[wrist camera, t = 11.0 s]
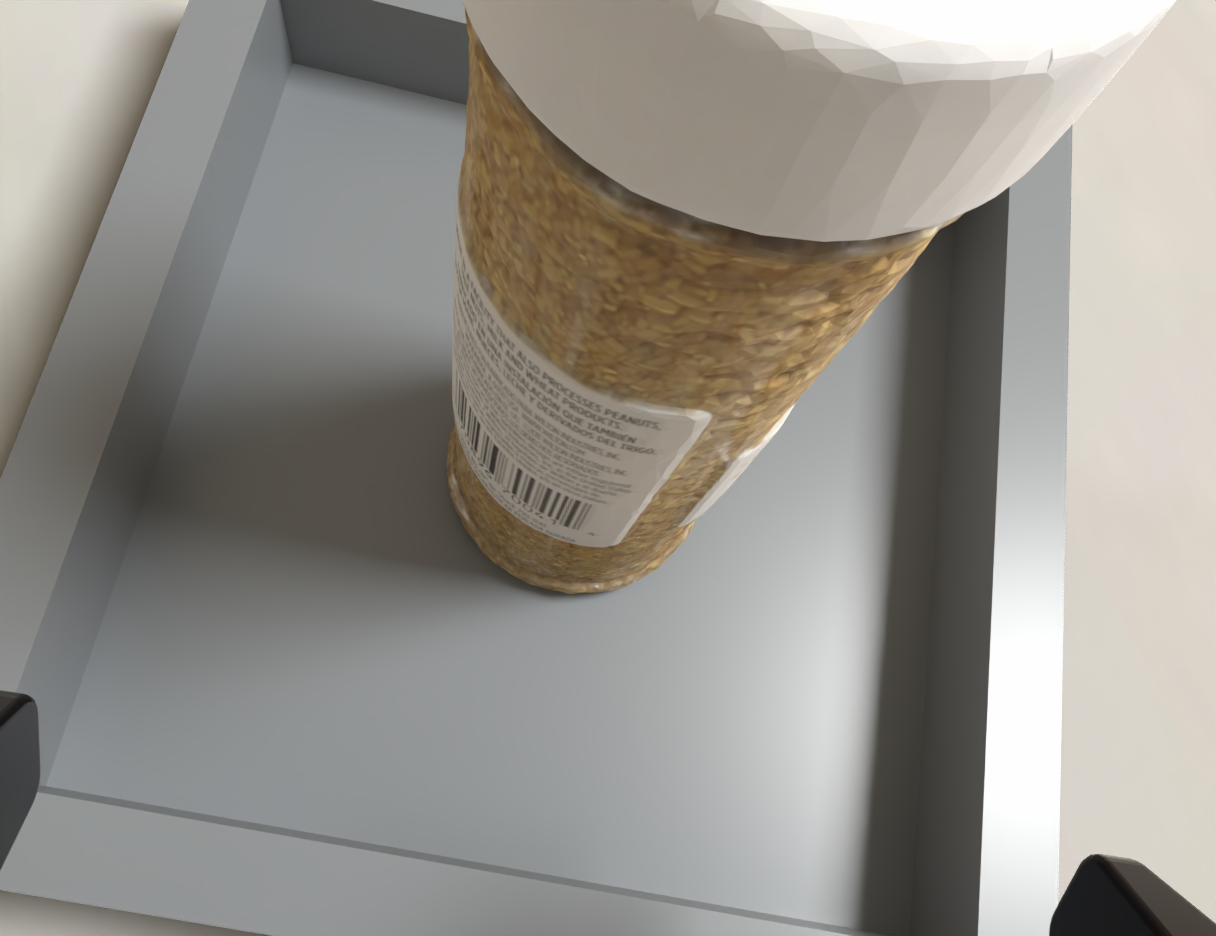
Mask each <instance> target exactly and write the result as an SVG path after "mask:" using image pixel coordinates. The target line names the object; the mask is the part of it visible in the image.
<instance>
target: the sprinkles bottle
mask: <svg viewBox="0 0 1216 936" xmlns="http://www.w3.org/2000/svg"><path fill="white" fill-rule="evenodd" d="M1176 1H1177V0H463V2H464V5H465V15H466V23H467V30H468V35H469V38H470V41H469V94H468V100H467V106H466V118H467V125H466V136H465V151H464V154H463V158H462V162H461V166H460V171H459V179H458V186H457V203H456V236H455V267H454V302H453V345H452V402H453V411H454V419H455V426H454V428H453V430H452V432H451V435H450V439H449V445H448V454H447V464H446V467H447V477H448V485H449V490H450V495H451V499H452V503H453V505H454V508H455V510H456V512H457V513H458V515H459V516H460V518H461V520H462V523H463V526H464V528H465V530H466V531H467V533H468V534H469V535H470V536H471V537H472V538H473V539H474V540H475V542H476V543H477V545H478V546H479V548H480V550H481V551H482V552H483V554H484V555H486V556H487V557H488V558H489V559H490V560H491V561H492V562H494V563H495V564H496V565H498V566H500V567H501V568H503V569H505V570H506V571H507V572H509V573H510V574H511V575H513V576H514V577H516V578H518V579H520V580H523V581H524V582H526V583H528V584H530V585H534V586H539V587H542V588H545V589H549V590H555V591H562V592H564V593H567V594H576V593H585V592H589V593H596V592H605V591H613V590H617V589H620V588H623V587H625V586H628V585H630V584H632V583H634V582H636V581H637V580H639V579H641V578H642V577H644V576H646V575H648V574H649V573H651V572H653V571H655V570H656V569H657V568H659V567H660V566H661V565H662V564H663V563H664V562H665V561H666V559H667V558H668V557H669V556H670V555H672V554H673V553H674V551H675V550H676V549H677V548H678V547H679V545H680V544H681V543H683V542H684V541H685V539H686V538H687V536H688V535H689V533H690V532H691V530H692V527H693V525H694V523H695V521H696V519H697V518H698V517H699V516H701V515H702V514H703V513H705V512H706V511H707V510H708V509H709V508H710V507H711V506H712V505H713V504H714V503H715V502H716V501H717V500H718V499H719V498H720V497H721V496H722V495H723V494H724V493H725V491H726V490H727V489H728V488H729V487H730V486H731V485H732V484H733V483H734V481H735V480H736V479H737V478H738V477H739V476H740V475H741V474H742V472H743V471H744V470H745V469H746V468H747V467H748V465H749V464H750V463H751V462H752V461H753V459H754V458H755V457H756V456H757V455H758V454H759V452H760V451H761V450H762V449H763V448H764V447H765V446H766V445H767V443H768V442H769V441H770V440H771V439H772V438H773V436H774V435H775V434H776V433H777V432H778V430H779V429H780V428H781V426H782V425H783V423H784V421H785V420H786V418H787V417H788V415H789V413H790V412H791V410H792V409H793V407H794V405H795V403H796V402H797V400H798V399H799V398H800V396H801V395H802V393H803V392H805V391H806V390H807V389H808V388H809V387H810V386H811V384H812V383H813V382H814V381H815V379H816V378H817V377H818V376H819V375H820V374H821V373H822V372H823V371H824V370H825V369H826V367H827V366H828V365H829V363H830V362H831V361H832V360H833V358H834V357H835V355H836V354H837V353H838V352H839V351H840V350H841V349H842V348H843V347H844V345H845V344H846V343H847V342H848V341H849V340H850V338H851V337H852V336H853V335H854V334H855V333H856V332H857V331H858V330H859V328H860V327H861V326H862V325H863V324H864V323H865V321H866V320H867V319H868V317H869V316H870V315H871V313H872V312H873V311H874V309H875V308H876V307H877V305H878V304H879V303H880V301H881V300H883V299H884V298H885V297H886V296H887V295H888V294H889V293H890V292H891V291H892V289H893V288H894V287H895V286H896V284H897V283H898V281H899V280H900V279H901V278H902V277H903V276H904V275H905V273H906V272H907V271H908V270H909V269H910V268H911V266H912V265H913V264H914V263H915V261H916V259H917V258H918V256H919V255H920V254H921V253H922V252H923V251H924V250H925V248H926V247H927V245H928V244H929V242H930V241H931V239H932V238H933V237H934V236H935V234H936V233H937V232H938V231H939V230H940V229H942V228H944V227H945V226H947V225H949V224H951V223H953V222H955V221H956V220H957V219H958V218H959V217H961V216H962V215H963V214H964V213H965V212H967V211H970V210H972V209H974V208H977V207H979V206H980V205H982V204H984V203H986V202H988V201H989V200H991V199H993V198H995V197H996V196H998V195H999V194H1000V193H1002V192H1003V191H1004V190H1006V189H1007V188H1008V187H1009V186H1011V185H1012V184H1013V183H1015V182H1016V181H1017V180H1019V179H1020V178H1021V177H1023V176H1024V175H1025V174H1026V173H1027V172H1028V171H1029V170H1030V169H1031V168H1032V167H1033V166H1034V165H1035V164H1036V163H1037V162H1038V161H1039V160H1040V159H1041V158H1042V157H1043V156H1044V155H1045V154H1046V153H1047V152H1048V151H1049V149H1050V148H1051V147H1052V146H1053V145H1054V144H1055V143H1056V142H1057V141H1058V139H1059V138H1060V137H1061V136H1062V135H1063V134H1064V133H1065V132H1066V131H1067V130H1068V128H1069V127H1070V126H1071V125H1072V124H1073V123H1074V122H1075V121H1076V120H1077V118H1078V117H1079V116H1080V115H1081V114H1082V113H1083V112H1084V111H1085V110H1086V109H1087V107H1088V106H1089V105H1090V104H1091V103H1092V102H1093V101H1094V100H1095V99H1096V97H1097V96H1098V95H1099V94H1100V93H1101V92H1102V90H1103V89H1104V88H1105V87H1106V86H1107V84H1108V83H1109V82H1110V81H1111V80H1112V78H1113V77H1114V76H1115V75H1116V74H1117V72H1118V71H1119V70H1120V69H1121V68H1122V66H1123V65H1124V64H1125V63H1126V62H1127V60H1128V59H1129V58H1130V57H1131V56H1132V55H1133V53H1134V52H1135V51H1136V50H1137V49H1138V47H1139V46H1140V45H1141V44H1142V43H1143V41H1144V40H1145V39H1146V38H1147V37H1148V35H1149V34H1150V33H1151V32H1152V31H1153V29H1154V28H1155V27H1156V26H1157V25H1158V23H1159V22H1160V21H1161V20H1162V18H1163V17H1164V16H1165V15H1166V13H1167V12H1168V11H1169V10H1170V8H1171V7H1172V6H1173V5H1174V3H1175V2H1176Z"/></svg>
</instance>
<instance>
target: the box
mask: <svg viewBox="0 0 1216 936" xmlns="http://www.w3.org/2000/svg"><path fill="white" fill-rule="evenodd" d="M469 41H470V38H469V35H468V30H467V23H466V15H465V5H464V2H463V0H189V2H188V5H187V8H186V10H185V13H184V15H183V18H182V20H181V23H180V25H179V28H178V30H177V33H176V35H175V38H174V40H173V43H172V45H171V48H170V51H169V53H168V56H167V58H166V61H165V63H164V66H163V68H162V71H161V73H160V76H159V78H158V81H157V83H156V86H155V88H154V91H153V94H152V96H151V99H150V101H149V104H148V106H147V109H146V111H145V114H144V116H143V119H142V121H141V124H140V126H139V129H138V131H137V134H136V137H135V139H134V142H133V144H132V147H131V149H130V152H129V154H128V157H127V159H126V162H125V164H124V167H123V169H122V172H121V174H120V177H119V180H118V182H117V185H116V187H115V190H114V192H113V195H112V197H111V200H110V202H109V205H108V207H107V210H106V212H105V215H104V217H103V220H102V223H101V225H100V228H99V230H98V233H97V235H96V238H95V240H94V243H93V245H92V248H91V250H90V253H89V255H88V258H87V260H86V263H85V266H84V268H83V271H82V273H81V276H80V278H79V281H78V283H77V286H76V288H75V291H74V293H73V296H72V298H71V301H70V303H69V306H68V308H67V311H66V314H65V316H64V319H63V321H62V324H61V326H60V329H59V331H58V334H57V336H56V339H55V341H54V344H53V346H52V349H51V351H50V354H49V357H48V359H47V362H46V364H45V367H44V369H43V372H42V374H41V377H40V379H39V382H38V384H37V387H36V389H35V392H34V394H33V397H32V400H31V402H30V405H29V407H28V410H27V412H26V415H25V417H24V420H23V422H22V425H21V427H20V430H19V432H18V435H17V437H16V440H15V443H14V445H13V448H12V450H11V453H10V455H9V458H8V460H7V463H6V465H5V468H4V470H3V473H2V475H1V478H0V690H2V691H9V692H16V693H22V694H27V695H29V696H30V697H32V698H33V699H34V700H35V702H36V704H37V708H38V719H39V744H40V769H41V771H40V782H39V787H38V791H37V794H36V797H35V800H34V802H33V805H32V807H31V809H30V811H29V813H28V815H27V817H26V819H25V821H24V823H23V825H22V827H21V829H20V831H19V834H18V836H17V838H16V840H15V842H14V844H13V846H12V848H11V850H10V852H9V854H8V856H7V858H6V860H5V862H4V864H3V866H2V869H1V871H0V890H1V891H7V892H13V893H19V894H25V895H31V896H37V897H43V898H49V899H55V900H61V901H67V902H73V903H79V904H85V905H91V906H97V907H103V908H109V909H115V910H121V911H127V912H133V913H139V914H145V915H151V916H157V917H163V918H169V919H175V920H181V921H187V922H193V923H199V924H205V925H210V926H216V927H222V928H228V929H234V930H240V931H246V932H252V933H258V934H264V935H270V936H1049V929H1050V923H1051V919H1052V916H1053V913H1054V911H1055V909H1056V908H1057V906H1058V880H1059V825H1060V771H1061V716H1062V661H1063V606H1064V552H1065V497H1066V442H1067V388H1068V333H1069V278H1070V224H1071V169H1072V125H1071V126H1070V127H1069V128H1068V130H1067V131H1066V132H1065V133H1064V134H1063V135H1062V136H1061V137H1060V138H1059V139H1058V141H1057V142H1056V143H1055V144H1054V145H1053V146H1052V147H1051V148H1050V149H1049V151H1048V152H1047V153H1046V154H1045V155H1044V156H1043V157H1042V158H1041V159H1040V160H1039V161H1038V162H1037V163H1036V164H1035V165H1034V166H1033V167H1032V168H1031V169H1030V170H1029V171H1028V172H1027V173H1026V174H1025V175H1024V176H1023V177H1021V178H1020V179H1019V180H1017V181H1016V182H1015V183H1013V184H1012V185H1011V186H1009V187H1008V188H1007V189H1006V190H1004V191H1003V192H1002V193H1000V194H999V195H998V196H996V197H995V198H993V199H991V200H989V201H988V202H986V203H984V204H982V205H980V206H979V207H977V208H974V209H972V210H970V211H967V212H965V213H964V214H963V215H962V216H961V217H959V218H958V219H957V220H956V221H955V222H953V223H951V224H949V225H947V226H945V227H944V228H942V229H940V230H939V231H938V232H937V233H936V234H935V236H934V237H933V238H932V239H931V241H930V242H929V244H928V245H927V247H926V248H925V250H924V251H923V252H922V253H921V254H920V255H919V256H918V258H917V259H916V261H915V263H914V264H913V265H912V266H911V268H910V269H909V270H908V271H907V272H906V273H905V275H904V276H903V277H902V278H901V279H900V280H899V281H898V283H897V284H896V286H895V287H894V288H893V289H892V291H891V292H890V293H889V294H888V295H887V296H886V297H885V298H884V299H883V300H881V301H880V303H879V304H878V305H877V307H876V308H875V309H874V311H873V312H872V313H871V315H870V316H869V317H868V319H867V320H866V321H865V323H864V324H863V325H862V326H861V327H860V328H859V330H858V331H857V332H856V333H855V334H854V335H853V336H852V337H851V338H850V340H849V341H848V342H847V343H846V344H845V345H844V347H843V348H842V349H841V350H840V351H839V352H838V353H837V354H836V355H835V357H834V358H833V360H832V361H831V362H830V363H829V365H828V366H827V367H826V369H825V370H824V371H823V372H822V373H821V374H820V375H819V376H818V377H817V378H816V379H815V381H814V382H813V383H812V384H811V386H810V387H809V388H808V389H807V390H806V391H805V392H803V393H802V395H801V396H800V398H799V399H798V400H797V402H796V403H795V405H794V407H793V409H792V410H791V412H790V413H789V415H788V417H787V418H786V420H785V421H784V423H783V425H782V426H781V428H780V429H779V430H778V432H777V433H776V434H775V435H774V436H773V438H772V439H771V440H770V441H769V442H768V443H767V445H766V446H765V447H764V448H763V449H762V450H761V451H760V452H759V454H758V455H757V456H756V457H755V458H754V459H753V461H752V462H751V463H750V464H749V465H748V467H747V468H746V469H745V470H744V471H743V472H742V474H741V475H740V476H739V477H738V478H737V479H736V480H735V481H734V483H733V484H732V485H731V486H730V487H729V488H728V489H727V490H726V491H725V493H724V494H723V495H722V496H721V497H720V498H719V499H718V500H717V501H716V502H715V503H714V504H713V505H712V506H711V507H710V508H709V509H708V510H707V511H706V512H705V513H703V514H702V515H701V516H699V517H698V518H697V519H696V521H695V523H694V525H693V527H692V530H691V532H690V533H689V535H688V536H687V538H686V539H685V541H684V542H683V543H681V544H680V545H679V547H678V548H677V549H676V550H675V551H674V553H673V554H672V555H670V556H669V557H668V558H667V559H666V561H665V562H664V563H663V564H662V565H661V566H660V567H659V568H657V569H656V570H655V571H653V572H651V573H649V574H648V575H646V576H644V577H642V578H641V579H639V580H637V581H636V582H634V583H632V584H630V585H628V586H625V587H623V588H620V589H617V590H613V591H605V592H596V593H589V592H585V593H576V594H567V593H564V592H562V591H555V590H549V589H545V588H542V587H539V586H534V585H530V584H528V583H526V582H524V581H523V580H520V579H518V578H516V577H514V576H513V575H511V574H510V573H509V572H507V571H506V570H505V569H503V568H501V567H500V566H498V565H496V564H495V563H494V562H492V561H491V560H490V559H489V558H488V557H487V556H486V555H484V554H483V552H482V551H481V550H480V548H479V546H478V545H477V543H476V542H475V540H474V539H473V538H472V537H471V536H470V535H469V534H468V533H467V531H466V530H465V528H464V526H463V523H462V520H461V518H460V516H459V515H458V513H457V512H456V510H455V508H454V505H453V503H452V499H451V495H450V490H449V485H448V477H447V467H446V464H447V454H448V445H449V439H450V435H451V432H452V430H453V428H454V426H455V419H454V411H453V402H452V345H453V302H454V267H455V236H456V203H457V186H458V179H459V171H460V166H461V162H462V158H463V154H464V151H465V136H466V125H467V118H466V106H467V100H468V94H469Z"/></svg>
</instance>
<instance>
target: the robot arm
mask: <svg viewBox="0 0 1216 936" xmlns="http://www.w3.org/2000/svg"><path fill="white" fill-rule="evenodd" d="M40 771H41V769H40V744H39V719H38V708H37V704H36V702H35V700H34V699H33V698H32V697H30V696H29V695H27V694H22V693H16V692H9V691H2V690H0V871H1V869H2V866H3V864H4V862H5V860H6V858H7V856H8V854H9V852H10V850H11V848H12V846H13V844H14V842H15V840H16V838H17V836H18V834H19V831H20V829H21V827H22V825H23V823H24V821H25V819H26V817H27V815H28V813H29V811H30V809H31V807H32V805H33V802H34V800H35V797H36V794H37V791H38V787H39V782H40ZM1049 936H1216V924H1215V923H1214V922H1213V921H1212V920H1210V919H1209V918H1208V917H1207V916H1206V915H1204V914H1203V913H1202V912H1201V911H1199V910H1198V909H1197V908H1196V907H1195V906H1193V905H1192V904H1191V903H1190V902H1188V901H1187V900H1186V899H1185V898H1184V897H1182V896H1181V895H1180V894H1179V893H1177V892H1176V891H1175V890H1174V889H1173V888H1171V887H1170V886H1169V885H1168V884H1166V883H1165V882H1164V881H1163V880H1161V879H1160V878H1159V877H1158V876H1157V875H1155V874H1154V873H1153V872H1152V871H1150V870H1149V869H1148V868H1147V867H1146V866H1144V865H1143V864H1141V863H1140V862H1138V861H1135V860H1132V859H1129V858H1122V857H1115V856H1109V855H1102V854H1094V855H1090V856H1088V857H1087V858H1086V859H1084V860H1083V861H1082V862H1081V864H1080V865H1079V867H1078V869H1077V871H1076V873H1075V875H1074V876H1073V878H1072V880H1071V882H1070V884H1069V886H1068V887H1067V889H1066V891H1065V893H1064V895H1063V897H1062V898H1061V900H1060V902H1059V904H1058V906H1057V908H1056V909H1055V911H1054V913H1053V916H1052V919H1051V923H1050V929H1049Z"/></svg>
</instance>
